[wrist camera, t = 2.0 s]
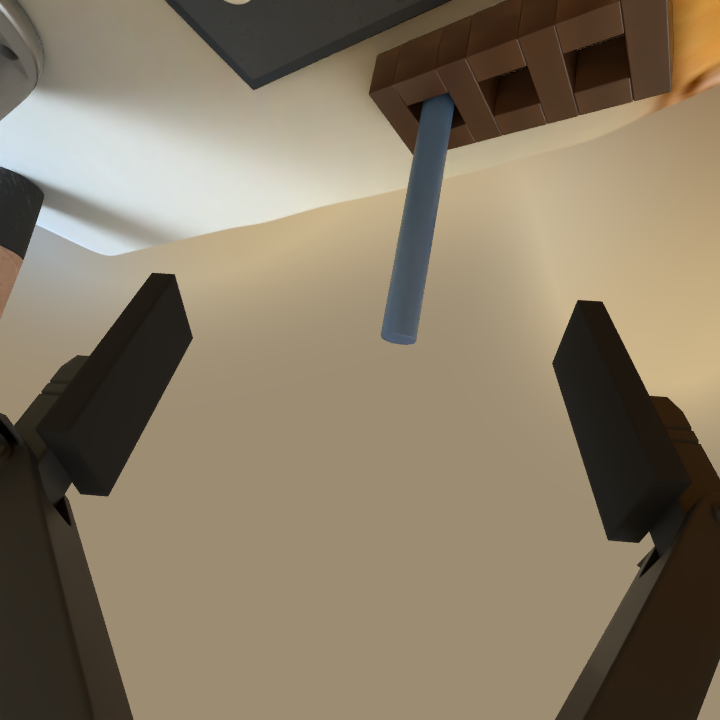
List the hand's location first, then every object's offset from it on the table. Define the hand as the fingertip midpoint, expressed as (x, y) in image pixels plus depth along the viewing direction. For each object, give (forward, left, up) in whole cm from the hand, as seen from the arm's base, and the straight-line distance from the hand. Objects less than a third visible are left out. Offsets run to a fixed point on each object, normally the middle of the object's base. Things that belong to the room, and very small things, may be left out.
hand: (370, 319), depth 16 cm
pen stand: (0, -9, -21) cm, 23 cm away
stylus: (-5, -9, -21) cm, 23 cm away
